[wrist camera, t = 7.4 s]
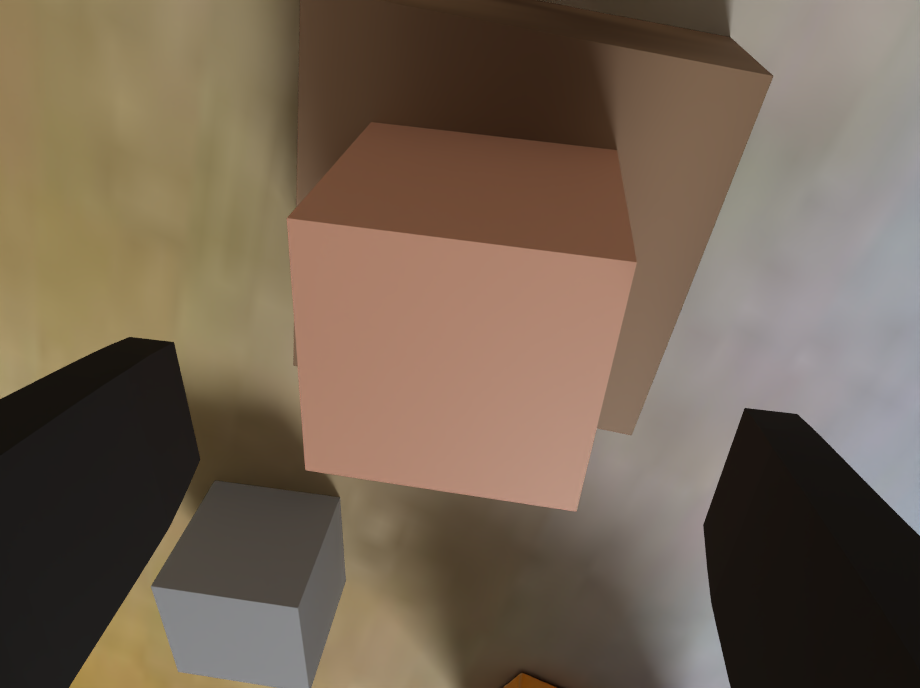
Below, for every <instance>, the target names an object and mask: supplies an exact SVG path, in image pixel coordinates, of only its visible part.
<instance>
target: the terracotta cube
mask: <svg viewBox="0 0 920 688" xmlns="http://www.w3.org/2000/svg"><path fill="white" fill-rule="evenodd" d="M287 227H288V241H289V255H290V268H291V282H292V296H293V309H294V323H295V336H296V350H297V364H298V377H299V391H300V405H301V418H302V432H303V445H304V459H305V470H307V471H314V472H320V473H327V474H333V475H340V476H346V477H353V478H359V479H366V480H372V481H379V482H385V483H392V484H399V485H405V486H412V487H418V488H425V489H431V490H438V491H444V492H451V493H457V494H464V495H470V496H477V497H483V498H490V499H497V500H503V501H510V502H516V503H523V504H529V505H536V506H542V507H549V508H555V509H562V510H568V511H575V512H577V508H578V503H579V499H580V495H581V491H582V487H583V483H584V479H585V475H586V470H587V466H588V462H589V458H590V454H591V450H592V446H593V442H594V437H595V433H596V429H597V425H598V421H599V417H600V413H601V409H602V404H603V400H604V396H605V392H606V388H607V384H608V380H609V376H610V372H611V367H612V363H613V359H614V355H615V351H616V347H617V343H618V339H619V334H620V330H621V326H622V322H623V318H624V314H625V310H626V306H627V301H628V297H629V293H630V289H631V285H632V281H633V277H634V273H635V269H636V264H637V260H636V254H635V248H634V243H633V237H632V231H631V226H630V220H629V214H628V209H627V203H626V198H625V192H624V186H623V181H622V175H621V169H620V164H619V158H618V152H617V150H611V149H602V148H594V147H585V146H576V145H567V144H559V143H550V142H541V141H532V140H524V139H515V138H506V137H497V136H489V135H480V134H471V133H462V132H454V131H445V130H436V129H428V128H419V127H410V126H401V125H393V124H384V123H375V122H371V123H370V124H369V125H368V126H367V127H366V129H365V130H364V131H363V132H362V133H361V134H360V135H359V136H358V138H357V139H356V140H355V141H354V142H353V143H352V144H351V146H350V147H349V148H348V149H347V150H346V151H345V152H344V154H343V155H342V156H341V157H340V158H339V159H338V160H337V162H336V163H335V164H334V165H333V166H332V167H331V168H330V170H329V171H328V172H327V173H326V174H325V175H324V176H323V178H322V179H321V180H320V181H319V182H318V183H317V184H316V186H315V187H314V188H313V189H312V190H311V191H310V192H309V194H308V195H307V196H306V197H305V198H304V199H303V200H302V202H301V203H300V204H299V205H298V206H297V207H296V208H295V209H294V211H293V212H292V213H291V214H290V215H289V216H288V217H287Z"/></svg>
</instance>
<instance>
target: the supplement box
mask: <svg viewBox="0 0 920 688" xmlns="http://www.w3.org/2000/svg"><path fill="white" fill-rule="evenodd" d="M503 688H556V687H554V686H552V685H550V684H548V683H545V682H542V681H540V680H538V679H536V678H533V677H531V676H529V675H527V674H524V673H520V674H519V675H518V676H517V677H515V678H514V679H513V680H512V681H511V682H509V683H508V684H506V685H505V686H504V687H503Z"/></svg>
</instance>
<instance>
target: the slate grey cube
mask: <svg viewBox="0 0 920 688" xmlns="http://www.w3.org/2000/svg"><path fill="white" fill-rule="evenodd" d="M345 582H346V576H345V562H344V548H343V533H342V519H341V505H340V497H334V496H326V495H319V494H311V493H304V492H297V491H289V490H282V489H275V488H267V487H260V486H252V485H245V484H238V483H230V482H223V481H214V483H213V484H212V486H211V488H210V489H209V491H208V493H207V494H206V496H205V498H204V499H203V501H202V502H201V504H200V506H199V507H198V509H197V511H196V512H195V514H194V516H193V517H192V519H191V521H190V522H189V524H188V526H187V527H186V529H185V531H184V532H183V534H182V536H181V537H180V539H179V541H178V542H177V544H176V546H175V547H174V549H173V551H172V552H171V554H170V556H169V557H168V559H167V561H166V562H165V564H164V566H163V567H162V569H161V570H160V572H159V574H158V575H157V577H156V579H155V580H154V582H153V584H152V585H151V588H152V591H153V594H154V597H155V600H156V603H157V607H158V610H159V613H160V616H161V619H162V622H163V625H164V628H165V631H166V635H167V638H168V641H169V644H170V647H171V650H172V653H173V656H174V660H175V663H176V666H177V669H178V672H183V673H189V674H196V675H202V676H208V677H215V678H221V679H227V680H233V681H240V682H246V683H252V684H258V685H265V686H271V687H277V688H311V686H312V683H313V680H314V677H315V674H316V671H317V668H318V665H319V662H320V659H321V656H322V653H323V649H324V646H325V643H326V640H327V637H328V634H329V631H330V628H331V625H332V622H333V619H334V616H335V612H336V609H337V606H338V603H339V600H340V597H341V594H342V591H343V588H344V585H345Z"/></svg>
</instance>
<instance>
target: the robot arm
mask: <svg viewBox="0 0 920 688" xmlns="http://www.w3.org/2000/svg"><path fill="white" fill-rule="evenodd" d="M199 461H200V456H199V452H198V447H197V443H196V438H195V434H194V429H193V425H192V421H191V416H190V412H189V407H188V403H187V398H186V394H185V389H184V385H183V380H182V376H181V372H180V367H179V363H178V358H177V354H176V349H175V345H174V342H168V341H159V340H151V339H142V338H133V337H128V338H126V339H124V340H121V341H119V342H116V343H114V344H111V345H109V346H107V347H105V348H102V349H100V350H98V351H96V352H94V353H92V354H90V355H88V356H86V357H83V358H81V359H79V360H77V361H75V362H73V363H71V364H69V365H67V366H65V367H63V368H61V369H59V370H57V371H55V372H53V373H51V374H49V375H47V376H45V377H43V378H41V379H39V380H37V381H36V382H34V383H32V384H30V385H28V386H26V387H24V388H22V389H20V390H18V391H16V392H14V393H12V394H10V395H8V396H6V397H4V398H2V399H0V688H69V686H70V685H71V683H72V682H73V680H74V678H75V677H76V675H77V674H78V672H79V671H80V669H81V667H82V666H83V664H84V663H85V661H86V659H87V658H88V656H89V655H90V653H91V652H92V650H93V648H94V647H95V645H96V644H97V642H98V641H99V639H100V637H101V636H102V634H103V633H104V631H105V630H106V628H107V626H108V625H109V623H110V622H111V620H112V618H113V617H114V615H115V614H116V612H117V611H118V609H119V607H120V606H121V604H122V603H123V601H124V600H125V598H126V596H127V595H128V593H129V592H130V590H131V589H132V587H133V585H134V584H135V582H136V581H137V579H138V577H139V576H140V574H141V573H142V571H143V569H144V568H145V566H146V565H147V563H148V561H149V560H150V558H151V557H152V555H153V553H154V552H155V550H156V548H157V547H158V545H159V544H160V542H161V540H162V539H163V537H164V535H165V534H166V532H167V530H168V529H169V527H170V525H171V523H172V521H173V519H174V517H175V515H176V512H177V510H178V508H179V506H180V504H181V502H182V500H183V498H184V496H185V493H186V491H187V489H188V487H189V484H190V482H191V480H192V477H193V475H194V473H195V470H196V468H197V466H198V463H199ZM703 526H704V537H705V548H706V559H707V570H708V578H709V587H710V596H711V603H712V608H713V612H714V617H715V622H716V626H717V630H718V635H719V639H720V643H721V648H722V652H723V657H724V661H725V665H726V670H727V674H728V678H729V682H730V686H731V688H920V536H919V535H918V534H917V533H916V532H915V531H914V530H913V529H912V528H911V527H910V526H909V525H908V524H907V523H906V522H905V521H904V520H903V519H902V518H901V517H900V516H899V515H898V514H897V513H896V512H895V511H894V510H893V509H892V508H891V507H890V506H889V505H888V504H887V503H886V502H885V501H884V500H883V499H882V498H881V497H880V496H879V495H878V494H877V493H876V492H875V491H874V490H873V489H872V488H871V487H870V486H869V485H868V484H867V483H866V482H865V481H864V480H863V479H862V478H861V477H860V476H859V475H858V474H857V473H856V472H855V471H854V470H853V469H852V468H851V467H850V466H849V465H848V463H847V462H846V461H845V460H844V459H843V458H842V457H841V456H840V455H839V454H838V453H837V452H836V451H835V450H834V449H833V448H832V447H831V446H830V445H829V444H828V443H827V442H826V441H825V440H824V439H823V438H822V437H821V436H820V435H819V434H818V433H817V432H816V431H815V430H814V429H813V428H812V427H811V426H810V425H808V424H807V423H806V422H805V421H804V420H803V419H802V418H801V417H800V416H799V415H798V414H792V413H783V412H775V411H766V410H757V409H749V408H745V409H744V412H743V414H742V417H741V420H740V423H739V426H738V429H737V431H736V434H735V437H734V440H733V443H732V445H731V448H730V451H729V454H728V457H727V460H726V462H725V465H724V468H723V471H722V474H721V477H720V479H719V482H718V485H717V488H716V491H715V494H714V496H713V499H712V502H711V505H710V508H709V511H708V513H707V516H706V519H705V522H704V525H703Z"/></svg>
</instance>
